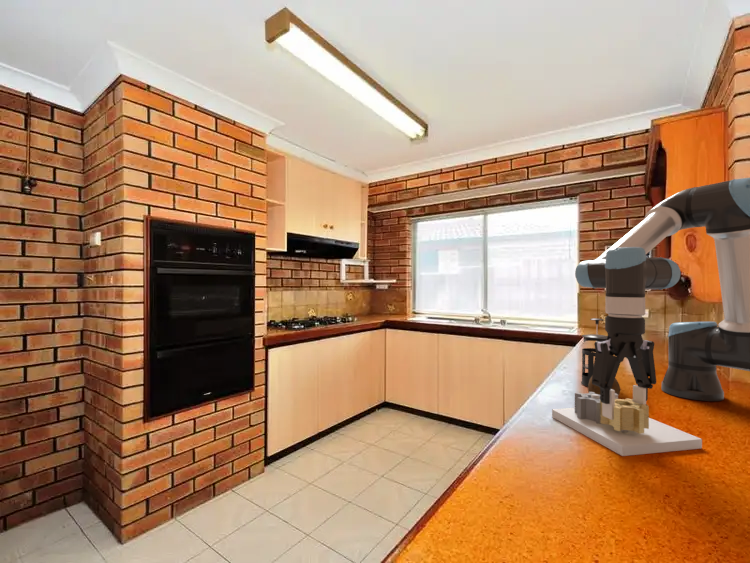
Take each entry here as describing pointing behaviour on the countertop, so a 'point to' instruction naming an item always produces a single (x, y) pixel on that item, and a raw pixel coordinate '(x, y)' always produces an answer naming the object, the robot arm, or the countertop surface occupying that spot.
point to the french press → (590, 354)
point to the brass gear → (628, 416)
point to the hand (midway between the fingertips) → (623, 416)
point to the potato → (597, 389)
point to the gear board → (631, 438)
